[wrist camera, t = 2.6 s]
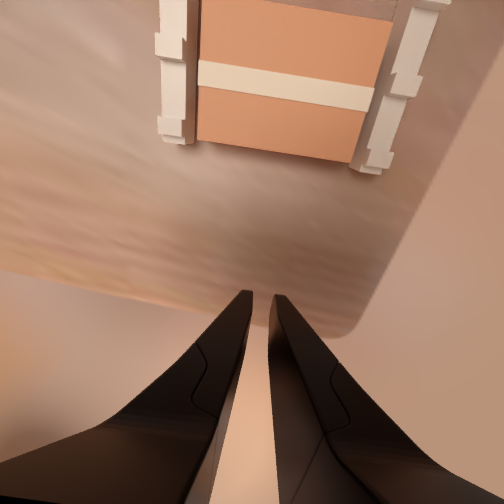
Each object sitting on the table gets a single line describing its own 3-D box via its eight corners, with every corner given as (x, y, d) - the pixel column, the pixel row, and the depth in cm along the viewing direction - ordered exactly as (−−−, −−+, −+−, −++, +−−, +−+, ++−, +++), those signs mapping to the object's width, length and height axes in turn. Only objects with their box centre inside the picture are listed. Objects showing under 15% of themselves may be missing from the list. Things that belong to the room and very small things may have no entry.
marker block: (368, 43, 16) (395, 21, 13) (337, 157, 19) (351, 163, 16) (213, 18, 16) (200, -11, 12) (207, 137, 19) (195, 139, 16)
